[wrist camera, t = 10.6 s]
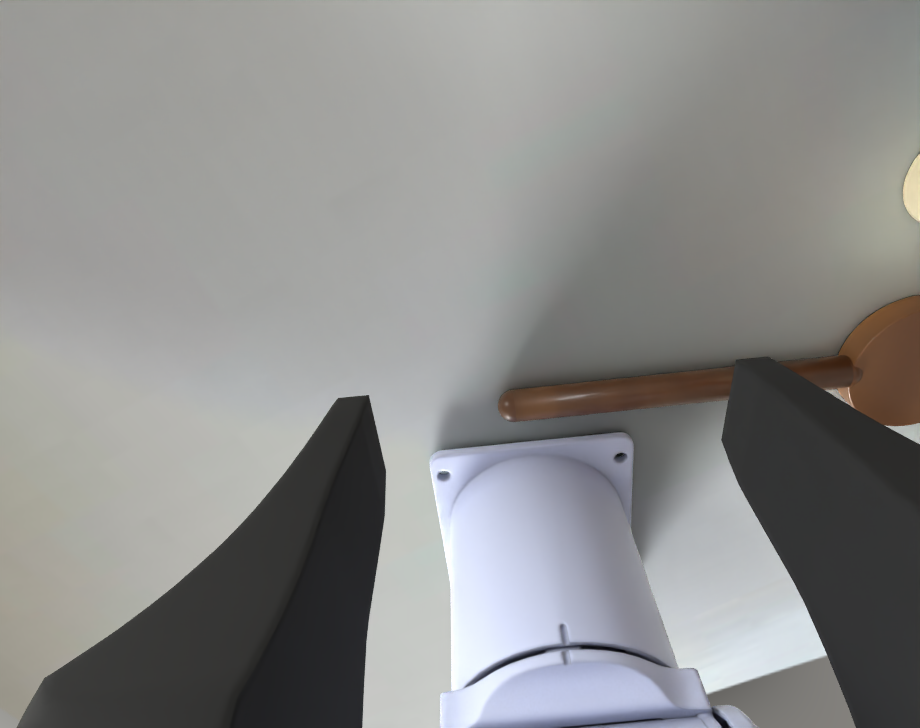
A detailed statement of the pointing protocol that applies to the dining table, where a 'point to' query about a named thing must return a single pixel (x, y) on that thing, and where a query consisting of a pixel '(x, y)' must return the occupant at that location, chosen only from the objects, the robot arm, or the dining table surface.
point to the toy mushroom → (913, 189)
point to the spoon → (851, 372)
